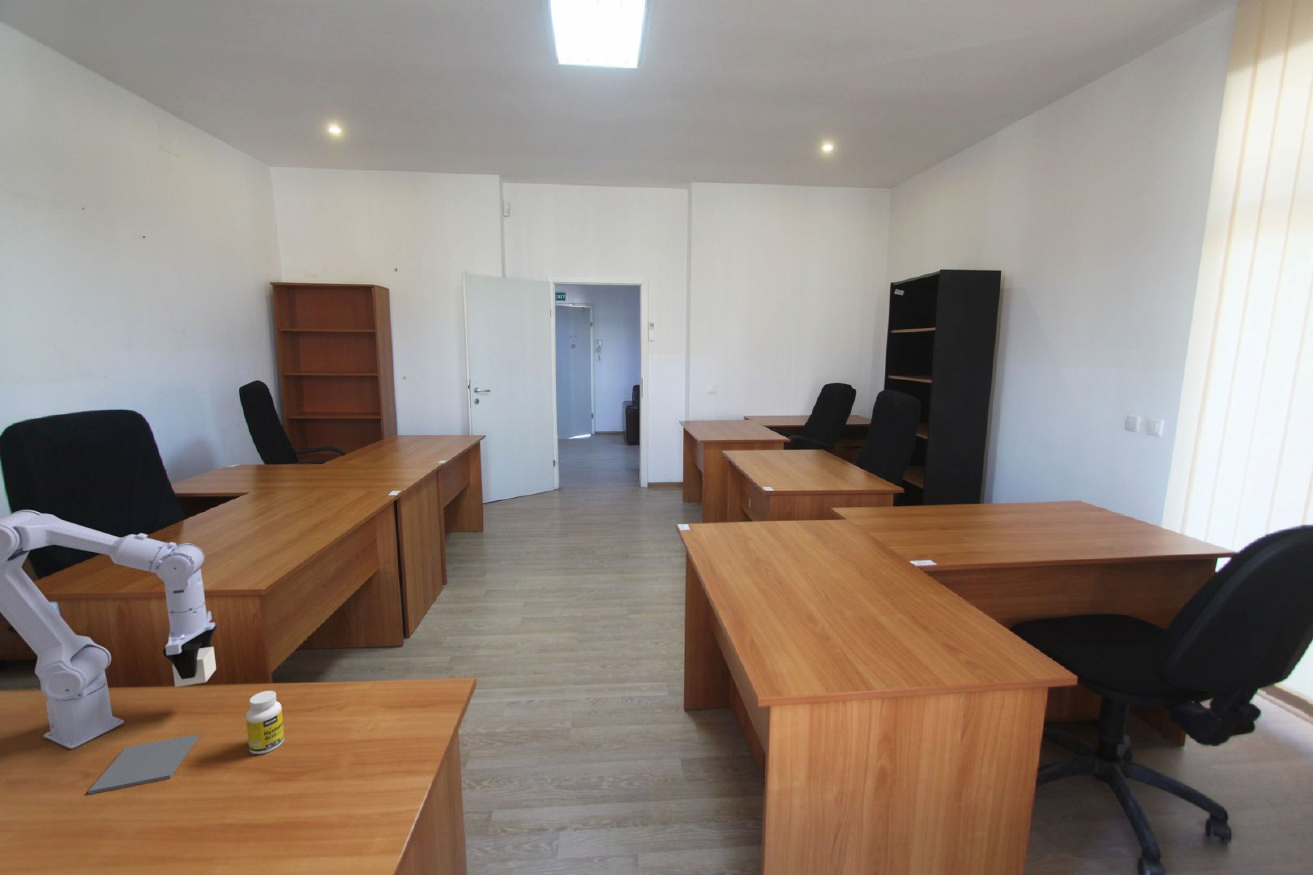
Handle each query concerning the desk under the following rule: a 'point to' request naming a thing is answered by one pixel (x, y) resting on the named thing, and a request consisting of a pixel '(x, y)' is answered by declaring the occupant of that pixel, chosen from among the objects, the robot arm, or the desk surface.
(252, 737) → the supplement bottle
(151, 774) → the mat
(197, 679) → the cube
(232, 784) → the desk surface
